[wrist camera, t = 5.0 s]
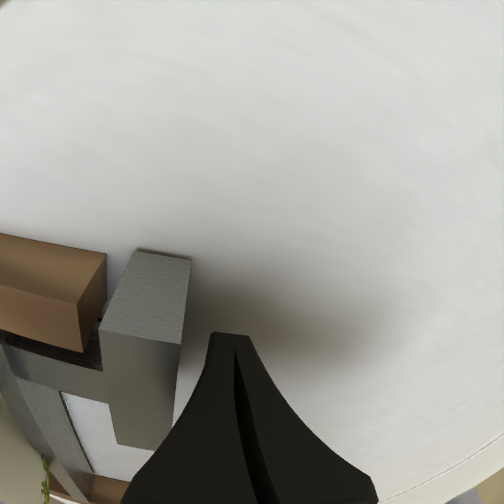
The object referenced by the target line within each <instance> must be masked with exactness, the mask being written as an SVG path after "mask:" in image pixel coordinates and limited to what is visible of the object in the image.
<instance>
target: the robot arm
mask: <svg viewBox="0 0 504 504" xmlns="http://www.w3.org/2000/svg"><path fill="white" fill-rule="evenodd" d="M378 501H379V500H378V496H377V493H376V490H375V487H374V485H373V482H372V480H371V478H370V476H368V475H367V474H365V473H363V472H362V471H360V470H359V469H357V468H356V467H354V466H353V465H351V464H350V463H348V462H347V461H345V460H344V459H343V458H341V457H340V456H339V455H338V454H336V453H335V452H334V451H332V450H331V449H330V448H329V447H328V446H327V445H326V444H325V443H324V442H323V441H321V440H320V439H319V438H318V437H317V436H316V435H315V434H314V433H313V432H312V431H311V430H310V429H309V428H308V427H307V426H306V425H305V424H304V422H303V421H302V420H301V419H300V418H299V417H298V415H297V414H296V413H295V412H294V411H293V409H292V408H291V407H290V405H289V404H288V403H287V401H286V400H285V399H284V397H283V396H282V394H281V393H280V392H279V390H278V389H277V387H276V385H275V384H274V382H273V381H272V379H271V377H270V376H269V374H268V372H267V371H266V369H265V367H264V365H263V363H262V362H261V360H260V358H259V356H258V354H257V352H256V350H255V348H254V346H253V343H252V341H251V339H250V338H249V336H245V335H236V334H228V333H220V332H213V333H211V335H210V340H209V345H208V350H207V355H206V360H205V365H204V368H203V371H202V373H201V376H200V378H199V380H198V383H197V385H196V387H195V389H194V391H193V393H192V395H191V397H190V399H189V401H188V403H187V405H186V407H185V408H184V410H183V412H182V414H181V415H180V417H179V418H178V420H177V422H176V423H175V425H174V426H173V428H172V429H171V431H170V432H169V434H168V435H167V437H166V438H165V439H164V441H163V442H162V443H161V445H160V446H159V447H158V449H157V450H156V451H155V453H154V454H153V455H152V456H151V458H150V459H149V460H148V461H147V462H146V463H145V464H144V466H143V467H142V468H141V469H140V470H139V471H138V472H137V473H136V474H135V476H134V477H133V479H132V481H131V482H130V484H129V486H128V488H127V489H126V491H125V493H124V495H123V497H122V499H121V501H120V504H377V503H378ZM0 504H6V503H4V502H2V501H0ZM445 504H482V502H481V500H480V498H479V495H478V493H477V491H476V489H475V488H472V489H470V490H468V491H466V492H464V493H462V494H460V495H458V496H456V497H454V498H453V499H451V500H449V501H448V502H446V503H445Z"/></svg>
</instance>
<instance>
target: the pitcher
mask: <svg viewBox="0 0 504 504" xmlns="http://www.w3.org/2000/svg"><path fill="white" fill-rule="evenodd" d="M0 501H2V502H4V503H6V504H48V503H49V467H48V464H47V462H46V461H45V460H44V458H43V457H42V456H41V455H40V454H39V453H38V452H37V451H36V450H35V449H34V448H33V446H32V445H31V444H30V442H29V441H28V439H27V437H26V436H25V434H24V433H23V431H22V430H21V428H20V427H19V425H18V423H17V422H16V420H15V418H14V417H13V415H12V413H11V412H10V410H9V408H8V406H7V404H6V403H5V401H4V399H3V397H2V395H1V393H0Z"/></svg>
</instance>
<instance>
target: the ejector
mask: <svg viewBox="0 0 504 504" xmlns="http://www.w3.org/2000/svg"><path fill="white" fill-rule="evenodd" d="M191 263H192V260H186V259H180V258H174V257H168V256H162V255H156V254H150V253H145V252H139V251H134V252H133V254H132V256H131V258H130V260H129V262H128V264H127V266H126V269H125V271H124V273H123V275H122V277H121V279H120V281H119V283H118V286H117V288H116V290H115V292H114V294H113V296H112V299H111V301H110V303H109V305H108V308H107V310H106V312H105V315H104V317H103V319H102V322H98V321H97V322H96V324H95V326H94V329H93V331H92V333H91V336H90V338H89V340H88V343H87V345H86V348H85V350H84V353H81V352H77V351H73V350H69V349H66V348H62V347H58V346H55V345H51V344H47V343H44V342H41V341H37V340H34V339H31V338H27V337H24V336H21V335H18V334H15V333H12V332H9V331H6V330H3V329H0V393H1V395H2V397H3V399H4V401H5V403H6V404H7V406H8V408H9V410H10V412H11V413H12V415H13V417H14V418H15V420H16V422H17V423H18V425H19V427H20V428H21V430H22V431H23V433H24V434H25V436H26V437H27V439H28V441H29V442H30V444H31V445H32V446H33V448H34V449H35V450H36V451H37V452H38V453H39V454H40V455H41V456H42V457H43V458H44V460H45V461H46V462H47V464H48V467H49V470H50V471H51V472H52V474H53V475H54V476H55V478H56V479H57V480H58V481H59V483H60V484H61V485H62V486H63V487H64V489H65V490H66V491H67V492H68V493H69V494H70V496H71V497H72V498H73V499H74V500H78V501H81V502H85V503H88V504H90V503H91V496H92V490H93V484H94V478H95V476H94V474H93V472H92V470H91V468H90V466H89V464H88V462H87V460H86V458H85V455H84V453H83V451H82V449H81V447H80V445H79V442H78V440H77V438H76V436H75V433H74V431H73V429H72V426H71V424H70V421H69V419H68V416H67V414H66V411H65V408H64V406H63V403H62V400H61V397H60V395H59V392H58V391H61V392H65V393H68V394H72V395H76V396H79V397H83V398H87V399H91V400H95V401H99V402H104V403H108V404H109V408H110V413H111V418H112V423H113V428H114V432H115V437H116V441H117V444H120V445H125V446H130V447H136V448H141V449H147V450H153V451H156V450H157V449H158V447H159V446H160V445H161V443H162V442H163V441H164V439H165V438H166V437H167V435H168V434H169V432H170V431H171V429H172V422H173V411H174V401H175V391H176V381H177V372H178V364H179V355H180V347H181V339H182V330H183V322H184V314H185V306H186V298H187V291H188V284H189V277H190V270H191Z"/></svg>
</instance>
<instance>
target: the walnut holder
mask: <svg viewBox="0 0 504 504" xmlns="http://www.w3.org/2000/svg"><path fill="white" fill-rule="evenodd" d="M106 300H107V291H106V254H103V253H97V252H92V251H86V250H81V249H76V248H70V247H65V246H60V245H55V244H49V243H44V242H39V241H34V240H29V239H24V238H19V237H14V236H9V235H5V234H0V329H3V330H6V331H9V332H12V333H15V334H18V335H21V336H24V337H27V338H31V339H34V340H37V341H41V342H44V343H47V344H51V345H55V346H58V347H62V348H66V349H69V350H73V351H77V352H81V353H84V350H85V348H86V345H87V343H88V340H89V338H90V336H91V333H92V331H93V329H94V326H95V324H96V322H97V320H98V317H99V315H100V313H101V311H102V308H103V306H104V304H105V302H106ZM94 476H95V478H94V484H93V490H92V496H91V503H90V504H120V501H121V499H122V497H123V495H124V493H125V491H126V489H127V488H128V486H129V484H130V483H129V482H124V481H119V480H115V479H110V478H106V477H102V476H98V475H94ZM49 494H52V495H55V496H58V497H61V498H64V499H67V500H70V501H73V502H77V503H80V504H88V503H85V502H81V501H78V500H74V499H73V498H72V497H71V496H70V494H69V493H68V492H67V491H66V490H65V489H64V487H63V486H62V485H61V484H60V483H59V481H58V480H57V479H56V478H55V476H54V475H53V474H52V472H51V471H50V470H49Z"/></svg>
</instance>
